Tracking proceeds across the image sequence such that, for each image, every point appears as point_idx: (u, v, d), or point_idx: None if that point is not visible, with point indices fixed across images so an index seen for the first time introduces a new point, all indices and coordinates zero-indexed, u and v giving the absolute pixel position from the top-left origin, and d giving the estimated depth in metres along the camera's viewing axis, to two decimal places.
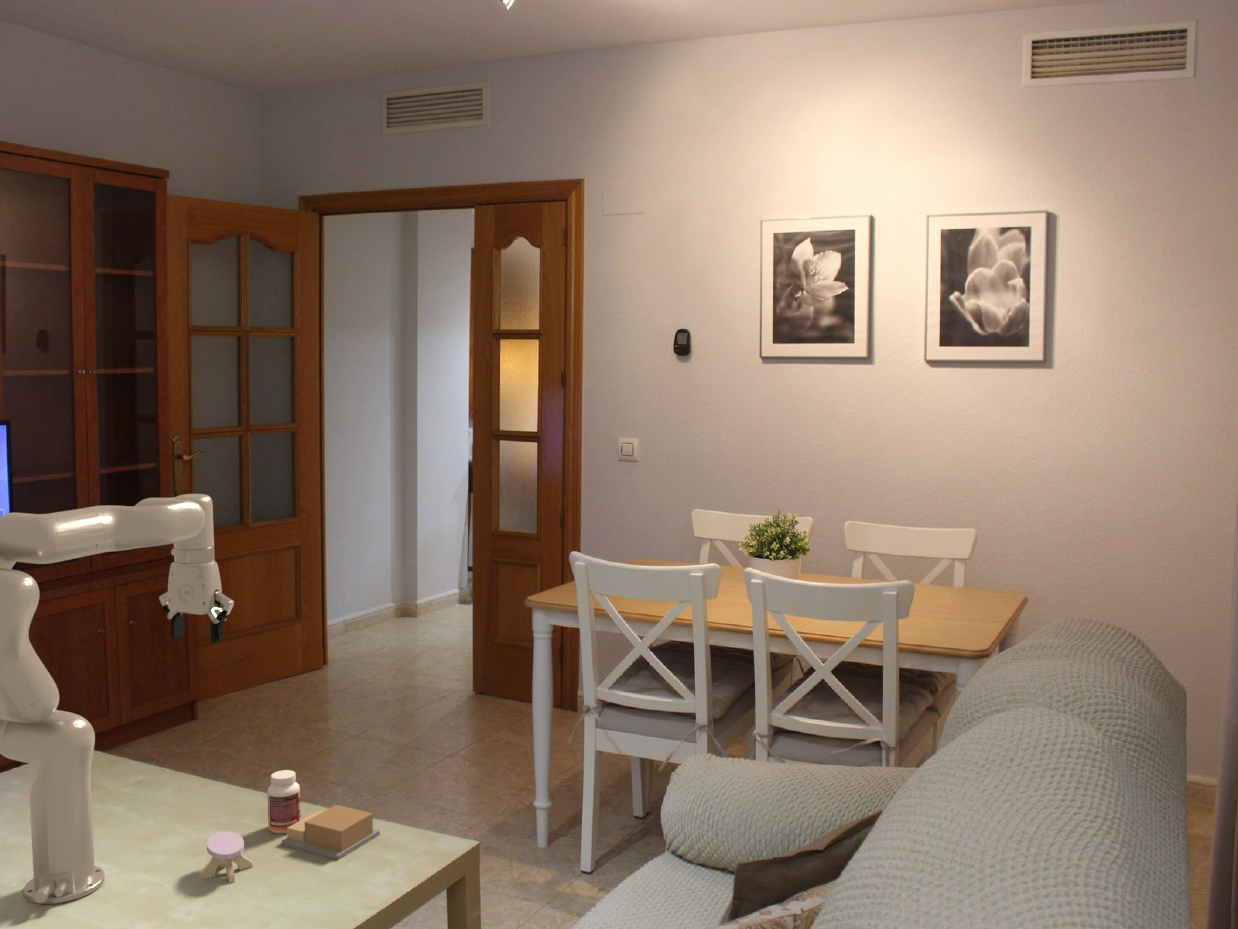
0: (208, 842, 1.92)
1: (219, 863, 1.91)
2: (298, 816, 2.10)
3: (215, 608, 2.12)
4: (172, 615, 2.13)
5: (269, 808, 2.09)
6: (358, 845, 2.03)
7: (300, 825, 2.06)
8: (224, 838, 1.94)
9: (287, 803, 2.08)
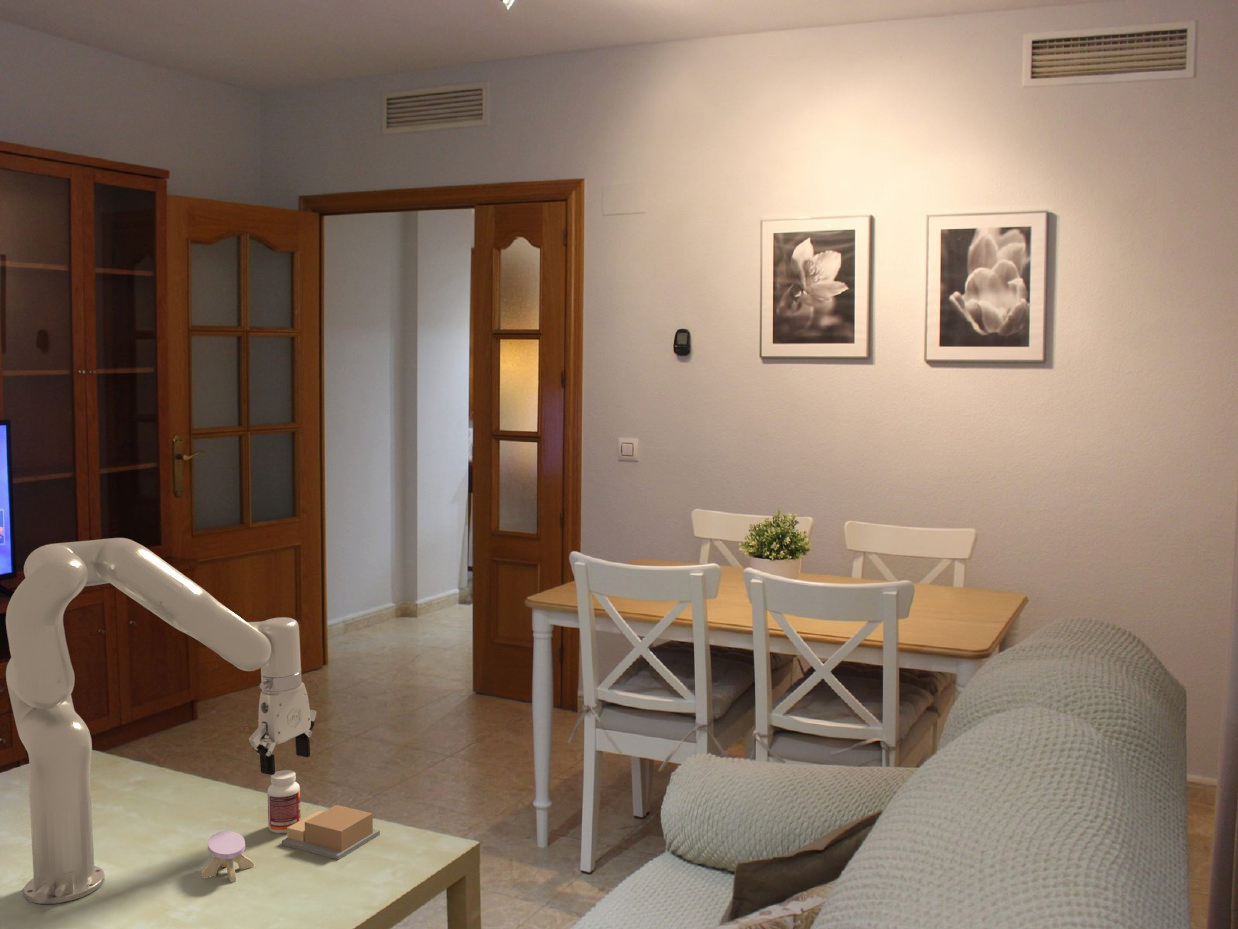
0: (209, 842, 1.92)
1: (220, 863, 1.91)
2: (298, 816, 2.10)
3: None
4: (271, 750, 2.05)
5: (269, 808, 2.09)
6: (358, 845, 2.03)
7: (300, 825, 2.06)
8: (225, 838, 1.94)
9: (287, 803, 2.08)
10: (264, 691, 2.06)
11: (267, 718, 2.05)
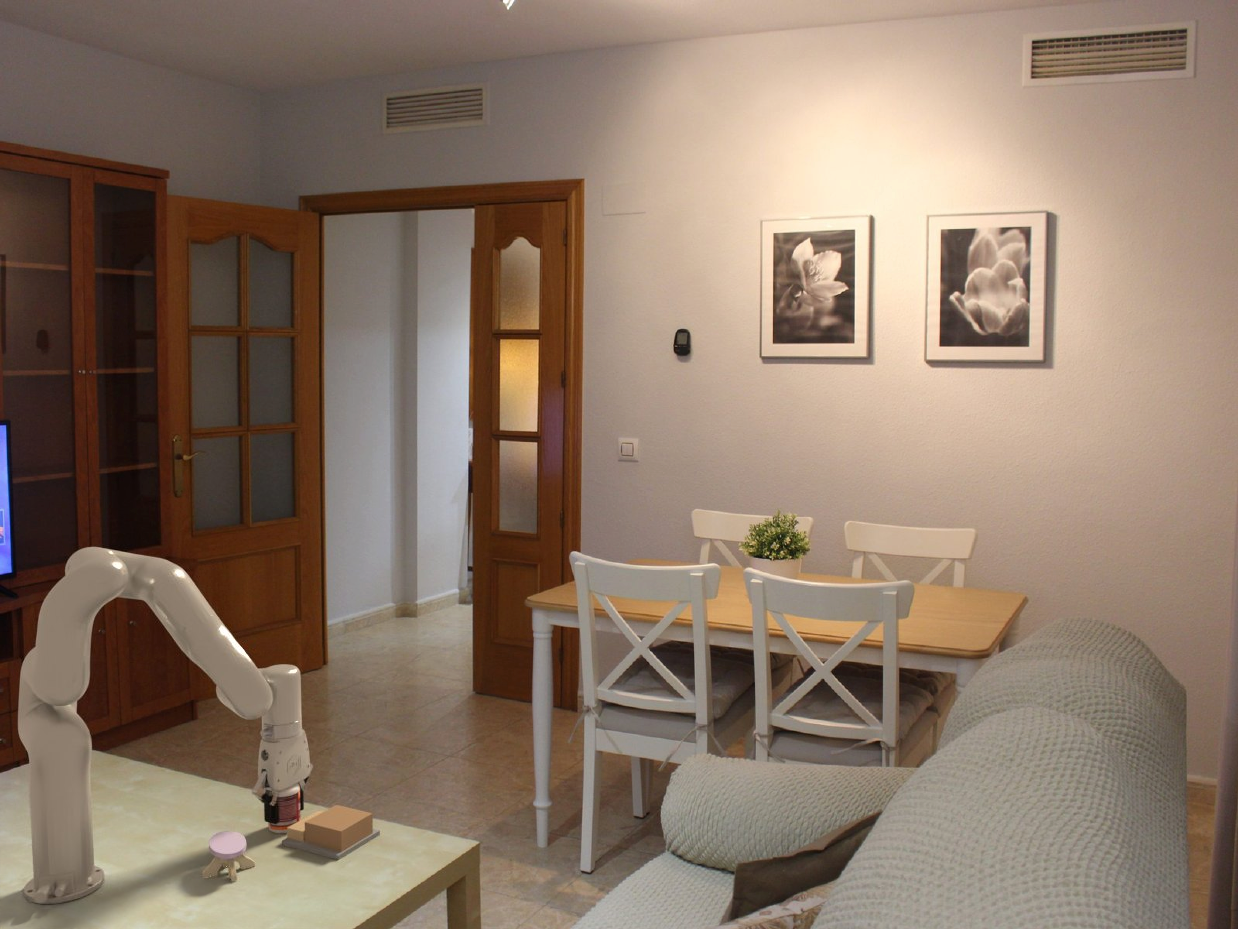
0: (210, 841, 1.93)
1: (221, 862, 1.92)
2: (298, 816, 2.10)
3: None
4: (276, 799, 2.07)
5: None
6: (358, 845, 2.03)
7: (300, 825, 2.06)
8: (226, 837, 1.94)
9: (287, 803, 2.08)
10: (264, 738, 2.07)
11: (267, 766, 2.05)
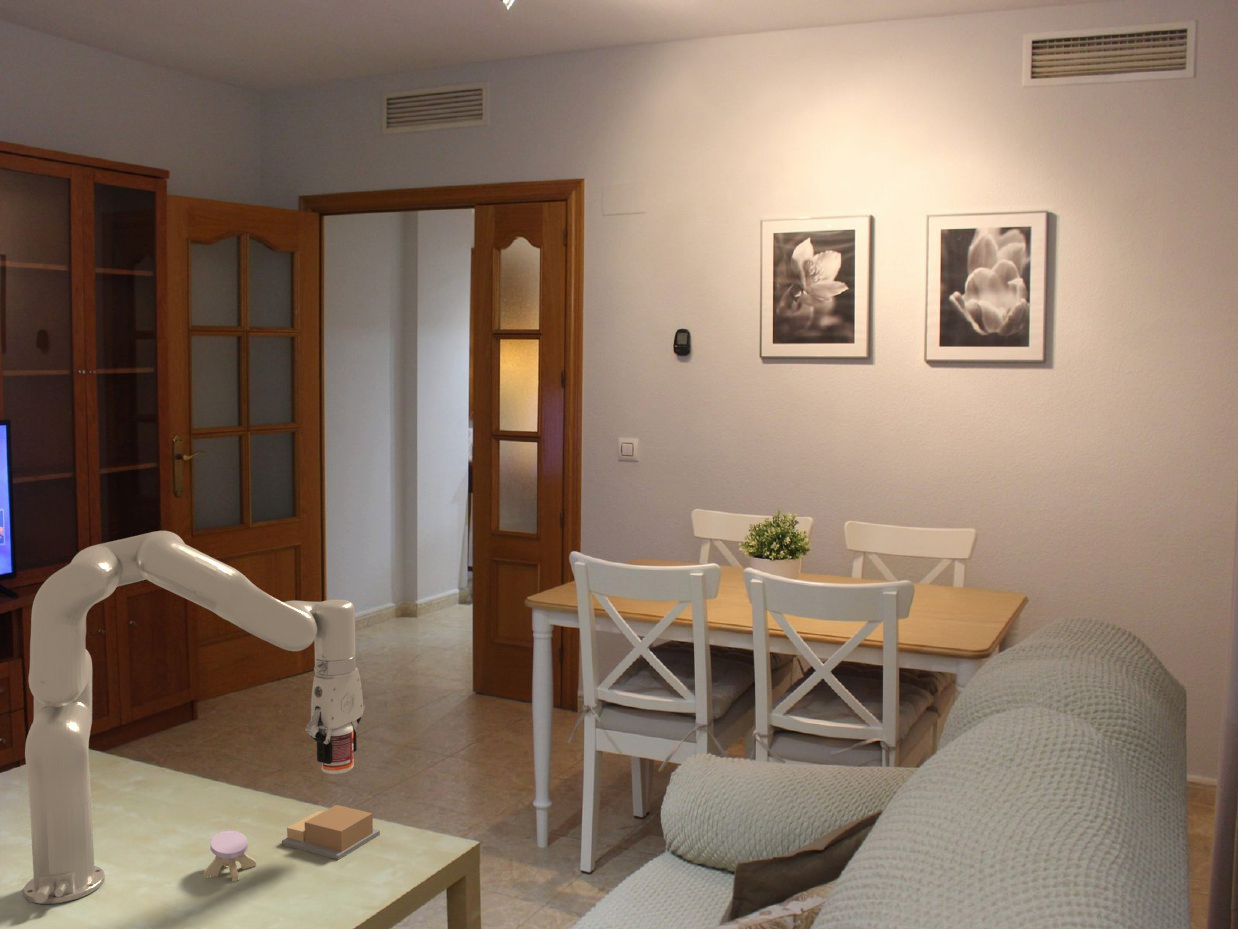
0: (212, 841, 1.93)
1: (223, 862, 1.92)
2: (351, 756, 2.03)
3: None
4: (329, 738, 2.00)
5: None
6: (358, 845, 2.03)
7: (300, 825, 2.06)
8: (228, 837, 1.94)
9: (341, 742, 2.01)
10: (318, 675, 1.99)
11: (321, 703, 1.98)
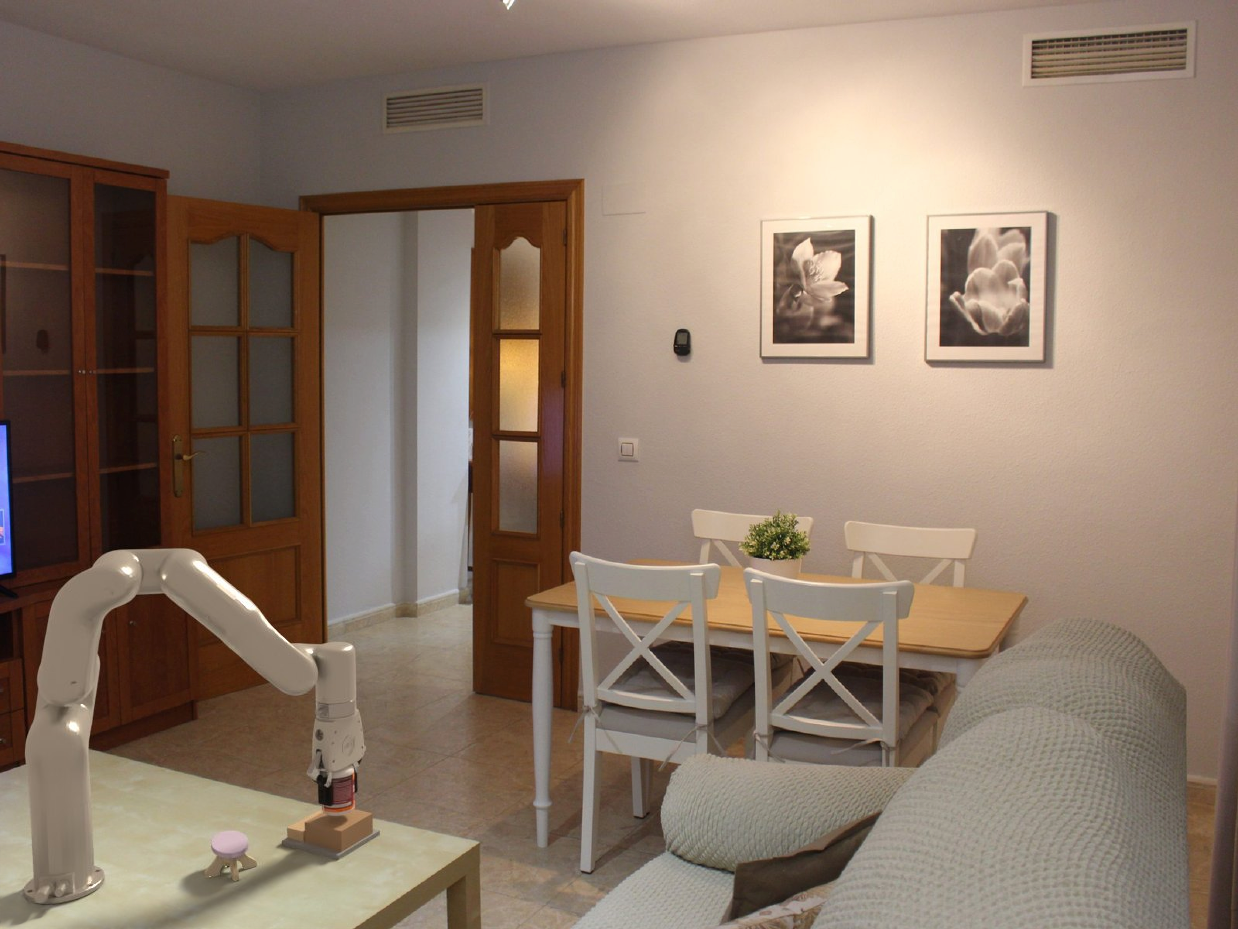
0: (213, 841, 1.93)
1: (223, 862, 1.92)
2: (352, 798, 2.04)
3: None
4: (330, 781, 2.00)
5: None
6: (358, 845, 2.03)
7: (300, 825, 2.06)
8: (228, 837, 1.94)
9: (342, 784, 2.01)
10: (319, 717, 2.00)
11: (322, 746, 1.98)
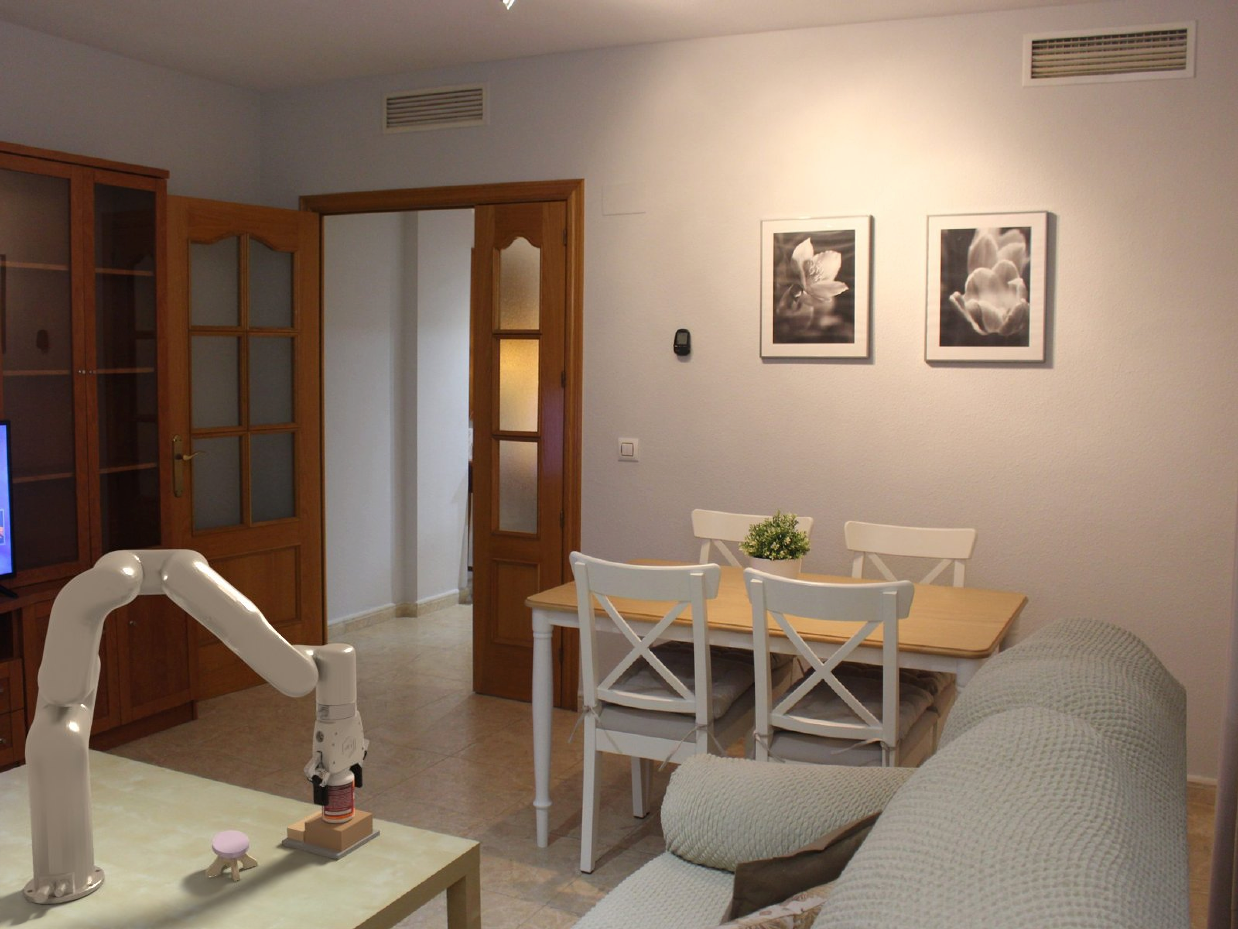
0: (213, 841, 1.93)
1: (224, 862, 1.92)
2: (352, 805, 2.04)
3: None
4: (326, 781, 1.99)
5: None
6: (358, 845, 2.03)
7: (300, 825, 2.06)
8: (229, 837, 1.95)
9: (342, 792, 2.02)
10: (319, 719, 2.00)
11: (322, 747, 1.99)
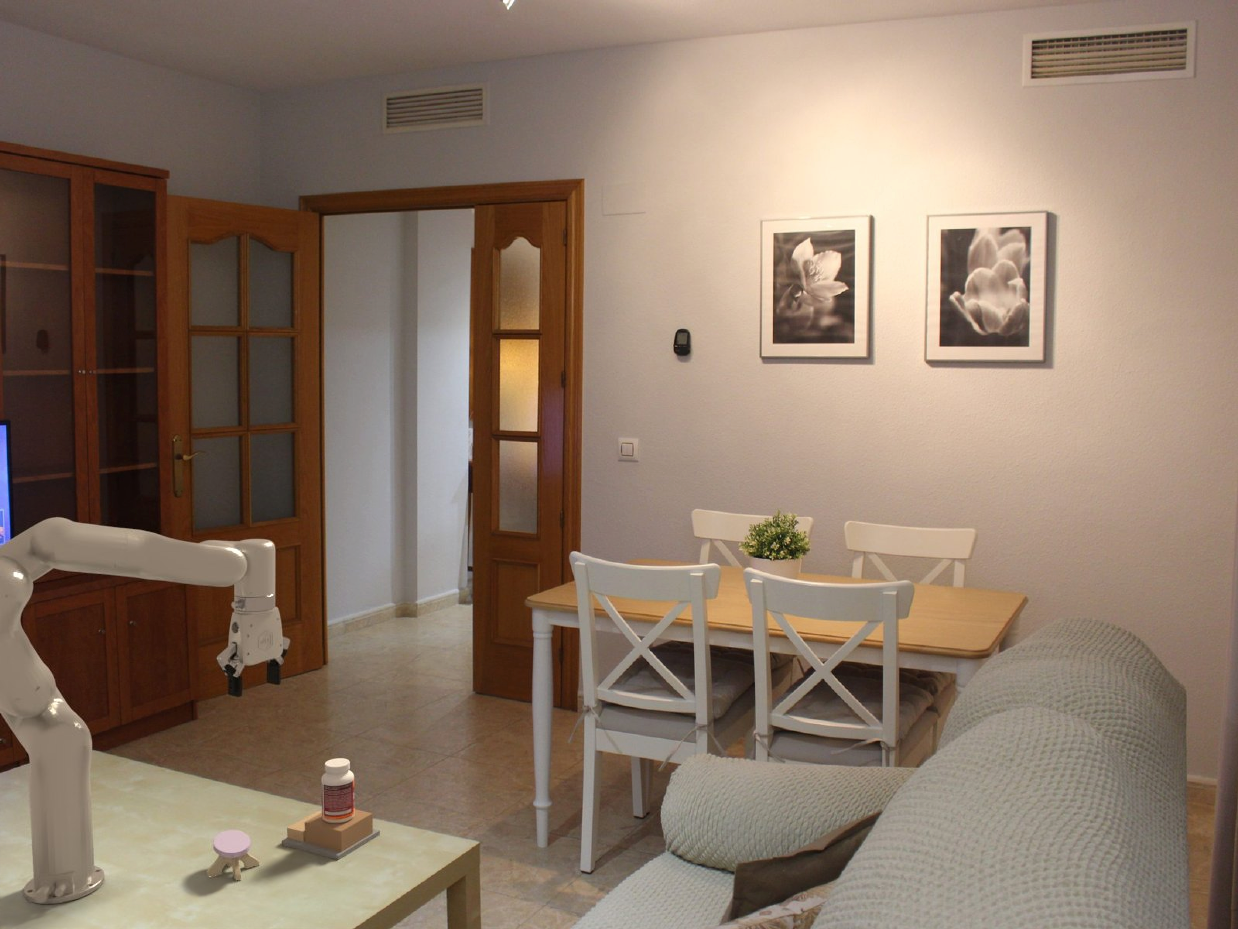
0: (215, 840, 1.93)
1: (226, 861, 1.92)
2: (352, 805, 2.04)
3: None
4: (240, 671, 2.01)
5: (323, 797, 2.02)
6: (358, 845, 2.03)
7: (300, 825, 2.06)
8: (231, 836, 1.95)
9: (342, 792, 2.02)
10: (236, 611, 2.03)
11: (237, 638, 2.01)
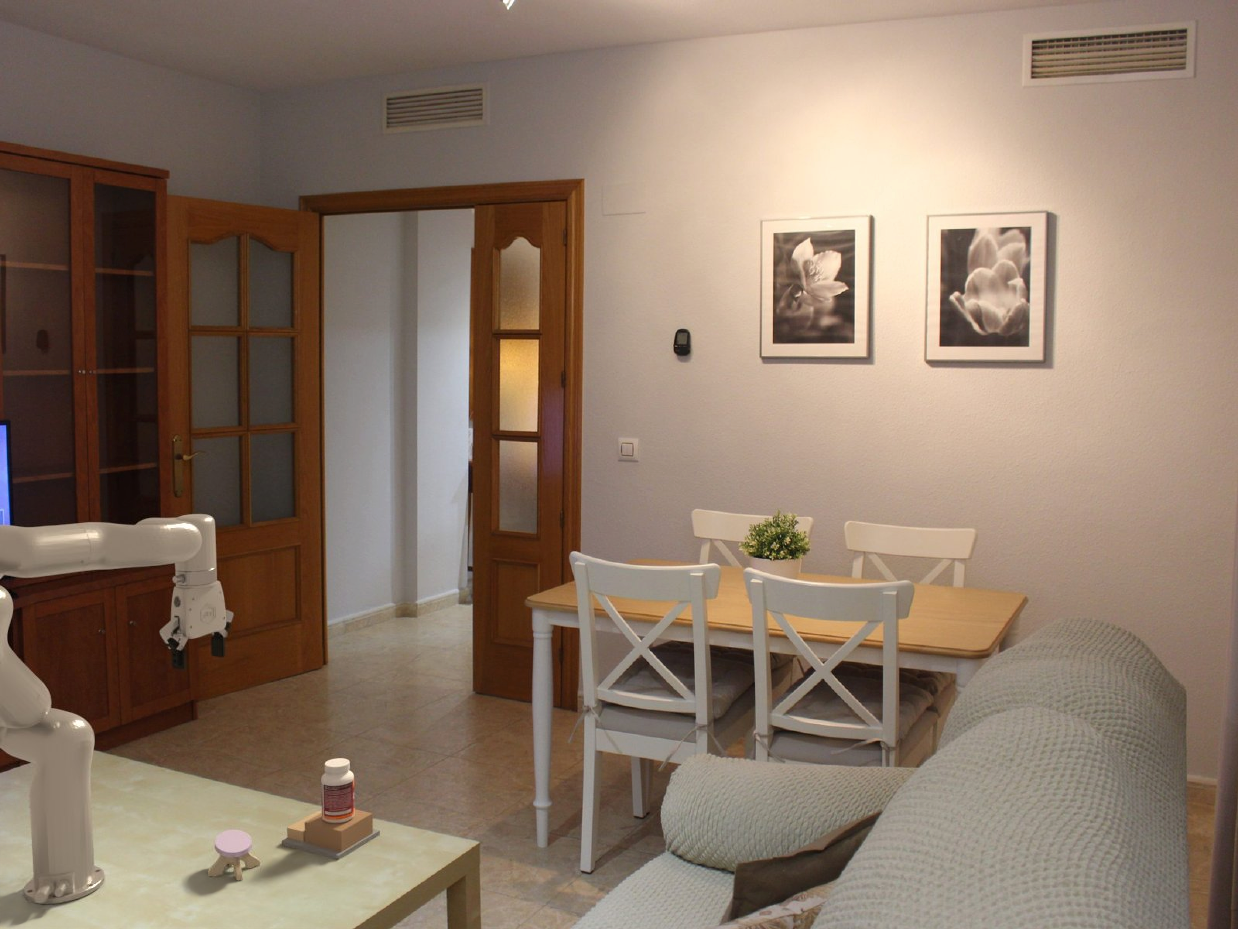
0: (216, 840, 1.93)
1: (227, 861, 1.92)
2: (352, 805, 2.04)
3: None
4: (183, 644, 2.04)
5: (323, 797, 2.02)
6: (358, 845, 2.03)
7: (300, 825, 2.06)
8: (232, 836, 1.95)
9: (342, 792, 2.02)
10: (177, 585, 2.05)
11: (179, 612, 2.04)
